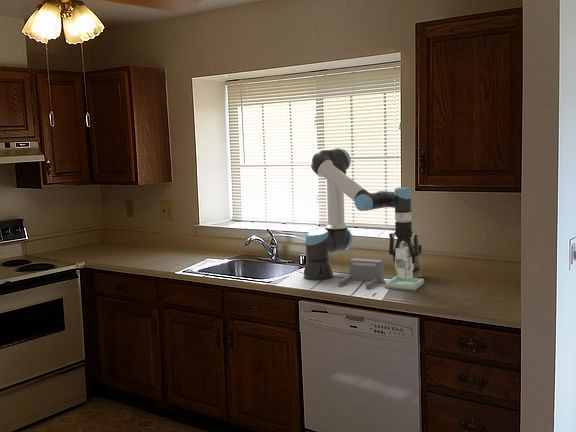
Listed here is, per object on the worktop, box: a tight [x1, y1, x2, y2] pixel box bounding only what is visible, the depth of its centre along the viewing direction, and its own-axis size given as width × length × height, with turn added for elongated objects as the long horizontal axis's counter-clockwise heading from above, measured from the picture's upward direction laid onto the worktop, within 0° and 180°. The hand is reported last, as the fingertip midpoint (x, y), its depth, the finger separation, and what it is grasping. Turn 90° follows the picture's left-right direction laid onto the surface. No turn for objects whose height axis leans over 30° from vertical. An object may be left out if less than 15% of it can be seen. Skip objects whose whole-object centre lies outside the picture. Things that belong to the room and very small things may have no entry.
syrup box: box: [395, 246, 413, 280], centre depth 283 cm, size 6×6×14 cm
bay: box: [337, 257, 385, 290], centre depth 293 cm, size 16×19×10 cm
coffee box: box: [399, 243, 423, 278], centre depth 301 cm, size 9×6×16 cm
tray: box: [384, 276, 425, 292], centre depth 285 cm, size 14×14×2 cm
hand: (404, 269), depth 284 cm, fingers closed on syrup box, 6 cm apart
